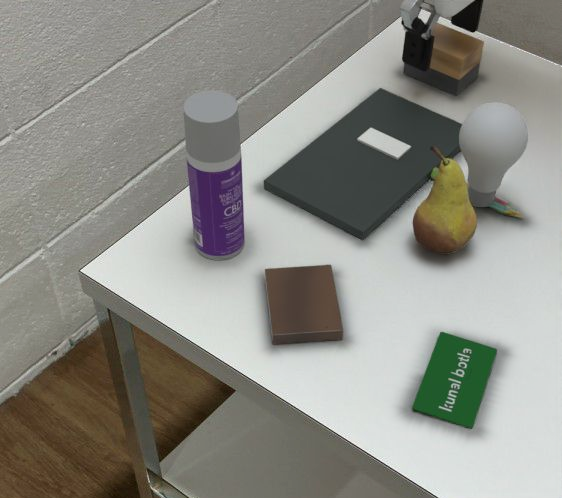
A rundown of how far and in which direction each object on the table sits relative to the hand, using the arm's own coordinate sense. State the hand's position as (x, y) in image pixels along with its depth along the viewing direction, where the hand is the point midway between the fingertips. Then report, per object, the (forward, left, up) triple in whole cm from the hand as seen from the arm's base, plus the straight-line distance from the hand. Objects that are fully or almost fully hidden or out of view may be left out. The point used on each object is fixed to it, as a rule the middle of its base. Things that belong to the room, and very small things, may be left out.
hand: (440, 46), depth 103 cm
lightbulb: (0, +22, -4) cm, 22 cm away
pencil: (+3, +19, -4) cm, 19 cm away
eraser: (0, 0, -4) cm, 4 cm away
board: (+10, +15, -4) cm, 18 cm away
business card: (+5, +45, -3) cm, 45 cm away
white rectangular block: (+8, +13, -3) cm, 16 cm away
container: (+26, +25, -4) cm, 36 cm away
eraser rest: (+19, +34, -4) cm, 39 cm away
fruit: (+5, +27, -4) cm, 28 cm away
